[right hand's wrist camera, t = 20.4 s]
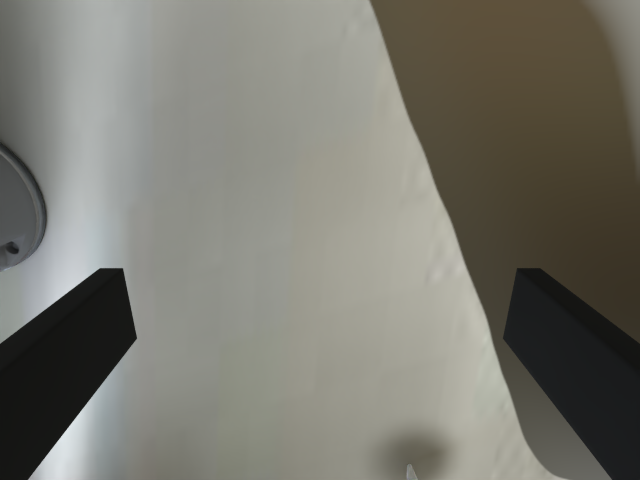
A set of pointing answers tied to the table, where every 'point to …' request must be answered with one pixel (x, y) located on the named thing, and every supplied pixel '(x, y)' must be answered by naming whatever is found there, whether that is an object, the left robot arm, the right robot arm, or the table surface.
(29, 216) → the right robot arm
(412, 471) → the mushroom
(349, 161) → the table surface
